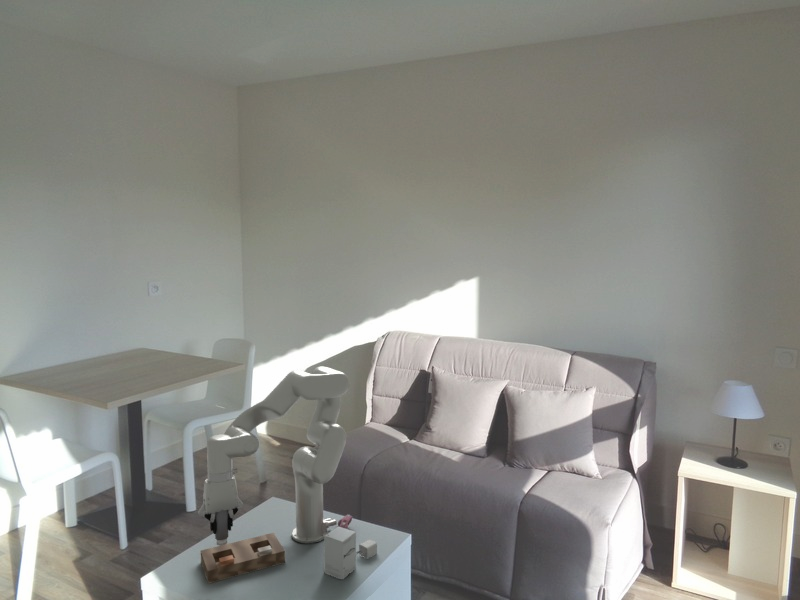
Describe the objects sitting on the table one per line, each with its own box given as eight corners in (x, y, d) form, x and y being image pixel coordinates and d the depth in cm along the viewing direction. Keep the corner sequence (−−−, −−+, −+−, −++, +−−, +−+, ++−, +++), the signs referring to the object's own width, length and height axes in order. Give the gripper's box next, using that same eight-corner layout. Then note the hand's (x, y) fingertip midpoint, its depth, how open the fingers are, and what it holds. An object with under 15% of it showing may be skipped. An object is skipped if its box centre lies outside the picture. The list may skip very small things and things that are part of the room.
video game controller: (341, 543, 203) (349, 527, 202) (329, 537, 203) (338, 521, 202) (348, 529, 212) (356, 514, 211) (337, 523, 213) (345, 507, 212)
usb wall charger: (377, 554, 193) (376, 543, 193) (361, 563, 188) (361, 551, 188) (368, 550, 196) (368, 538, 196) (353, 558, 191) (353, 546, 191)
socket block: (273, 543, 200) (273, 528, 199) (285, 562, 189) (284, 546, 188) (201, 562, 189) (200, 546, 188) (208, 583, 177) (207, 566, 177)
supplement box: (342, 580, 179) (342, 542, 177) (323, 573, 183) (323, 535, 181) (356, 569, 185) (356, 531, 183) (338, 562, 189) (337, 525, 187)
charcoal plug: (227, 538, 187) (226, 502, 186) (229, 544, 184) (228, 508, 183) (214, 541, 185) (213, 505, 184) (216, 547, 182) (215, 510, 181)
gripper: (244, 466, 190) (245, 519, 192) (190, 475, 182) (192, 531, 184) (249, 474, 183) (251, 529, 185) (194, 484, 175) (195, 542, 177)
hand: (221, 529), depth 184 cm, fingers closed on charcoal plug, 4 cm apart
